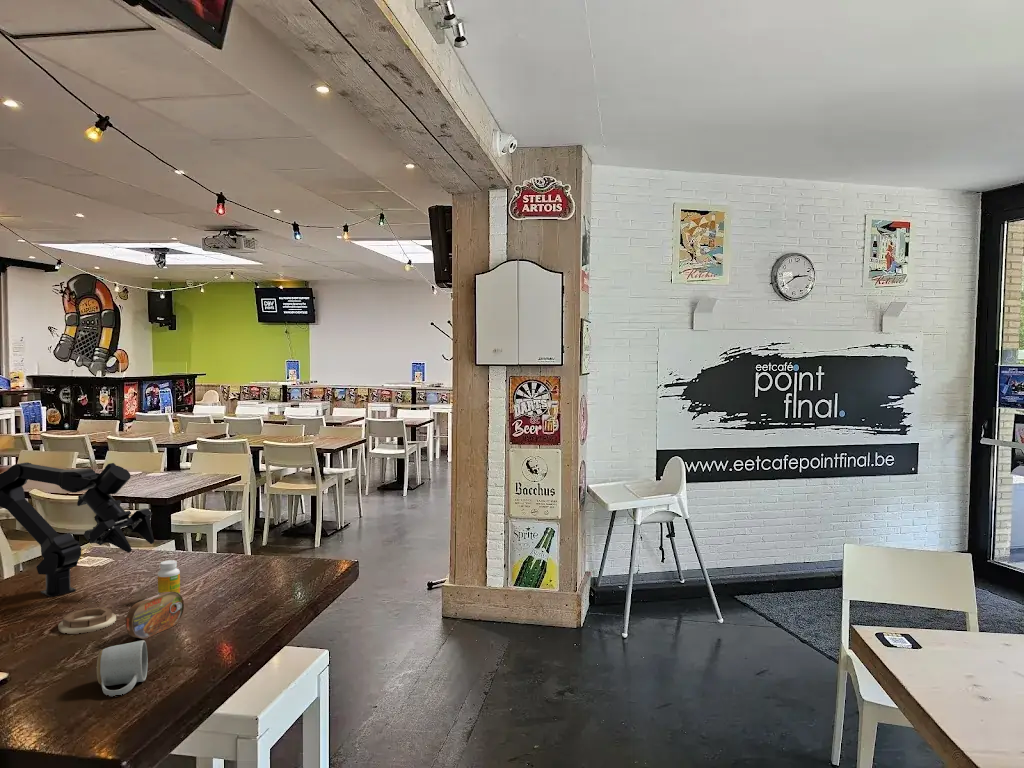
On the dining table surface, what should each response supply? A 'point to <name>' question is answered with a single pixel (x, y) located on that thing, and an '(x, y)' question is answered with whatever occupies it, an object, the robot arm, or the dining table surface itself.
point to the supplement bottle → (169, 577)
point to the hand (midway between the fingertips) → (141, 547)
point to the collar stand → (87, 620)
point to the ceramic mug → (122, 666)
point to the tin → (154, 615)
